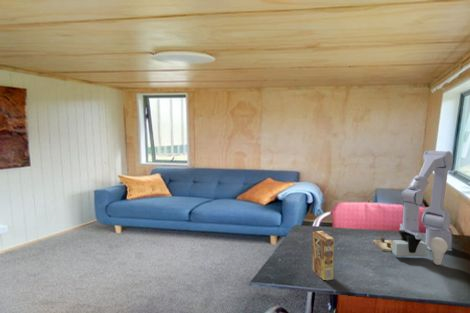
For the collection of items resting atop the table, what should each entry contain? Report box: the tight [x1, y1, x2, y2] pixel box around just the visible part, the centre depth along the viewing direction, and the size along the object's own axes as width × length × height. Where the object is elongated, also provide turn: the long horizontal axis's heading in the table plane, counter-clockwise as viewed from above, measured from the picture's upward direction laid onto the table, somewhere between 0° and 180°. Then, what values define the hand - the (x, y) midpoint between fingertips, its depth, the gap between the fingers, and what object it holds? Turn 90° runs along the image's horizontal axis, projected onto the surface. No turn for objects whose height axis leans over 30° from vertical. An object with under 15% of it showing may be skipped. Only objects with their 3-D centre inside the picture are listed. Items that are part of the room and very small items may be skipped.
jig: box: [372, 237, 402, 253], centre depth 143 cm, size 16×12×3 cm
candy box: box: [312, 230, 335, 281], centre depth 115 cm, size 9×4×15 cm, turn 13°
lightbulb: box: [429, 237, 448, 266], centre depth 123 cm, size 6×6×11 cm
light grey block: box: [391, 240, 428, 257], centre depth 130 cm, size 12×4×5 cm, turn 85°
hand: (409, 250), depth 130 cm, fingers closed on light grey block, 4 cm apart
